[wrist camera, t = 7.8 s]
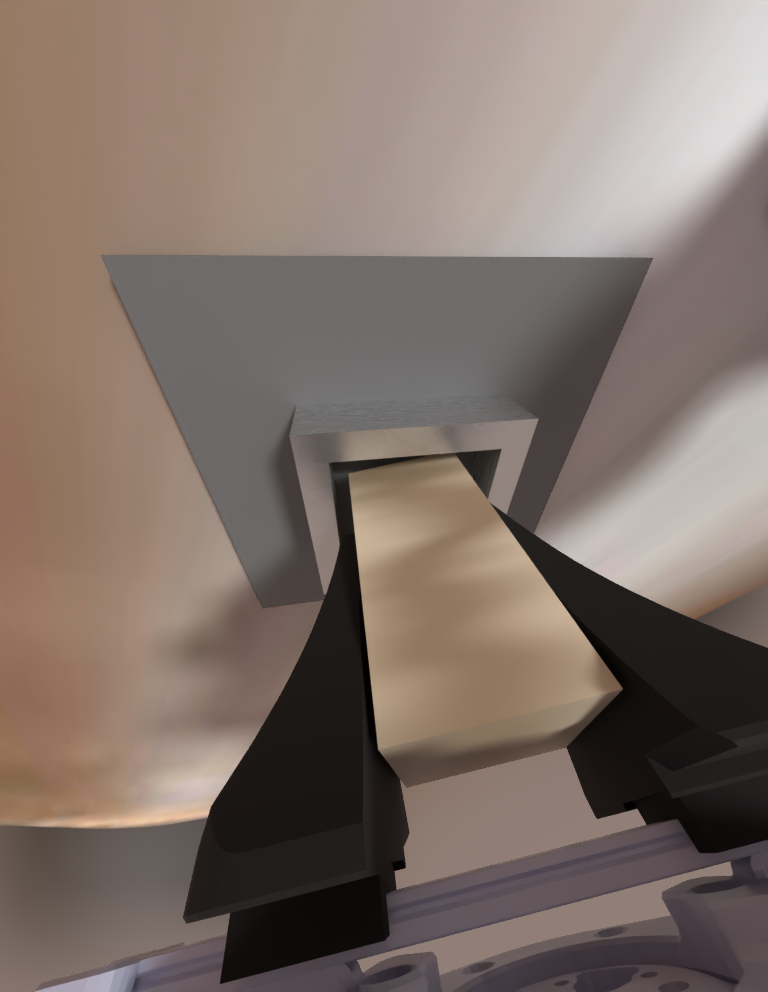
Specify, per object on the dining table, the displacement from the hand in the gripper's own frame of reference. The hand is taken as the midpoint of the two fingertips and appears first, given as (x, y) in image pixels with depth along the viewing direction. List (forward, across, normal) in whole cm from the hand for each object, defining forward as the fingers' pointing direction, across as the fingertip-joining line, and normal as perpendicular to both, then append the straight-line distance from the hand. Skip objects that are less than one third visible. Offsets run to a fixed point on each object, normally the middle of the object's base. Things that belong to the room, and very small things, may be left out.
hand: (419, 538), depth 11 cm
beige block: (+2, 0, 0) cm, 2 cm away
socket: (+4, 0, 0) cm, 4 cm away
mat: (+4, 0, 0) cm, 4 cm away
